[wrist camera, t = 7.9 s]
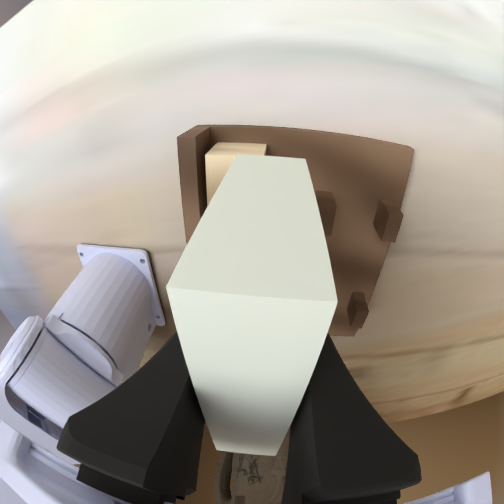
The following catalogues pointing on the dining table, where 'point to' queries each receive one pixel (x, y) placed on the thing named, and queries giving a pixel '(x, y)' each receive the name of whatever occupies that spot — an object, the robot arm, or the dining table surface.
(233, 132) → the rack
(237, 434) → the panel
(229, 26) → the dining table surface
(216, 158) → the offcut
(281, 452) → the beer stein
